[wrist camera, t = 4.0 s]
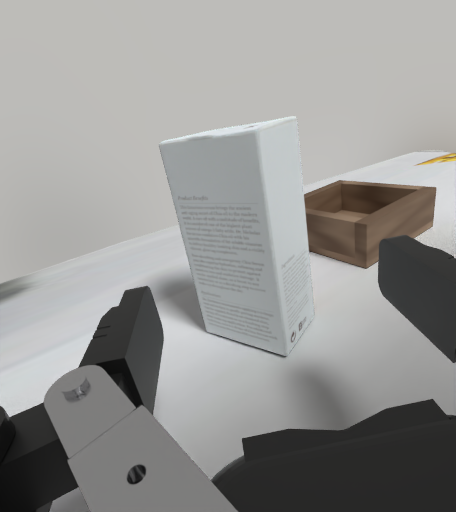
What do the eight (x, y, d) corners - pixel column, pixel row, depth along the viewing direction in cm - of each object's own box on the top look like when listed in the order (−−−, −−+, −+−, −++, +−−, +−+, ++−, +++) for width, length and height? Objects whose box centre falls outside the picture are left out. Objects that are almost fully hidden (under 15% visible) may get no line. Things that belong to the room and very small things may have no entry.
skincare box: (316, 316, 20) (301, 114, 15) (287, 360, 17) (257, 126, 12) (238, 298, 24) (206, 129, 19) (202, 332, 21) (153, 142, 16)
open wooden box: (432, 226, 29) (436, 187, 28) (366, 268, 24) (366, 224, 23) (340, 211, 37) (339, 180, 35) (277, 241, 32) (272, 206, 31)
